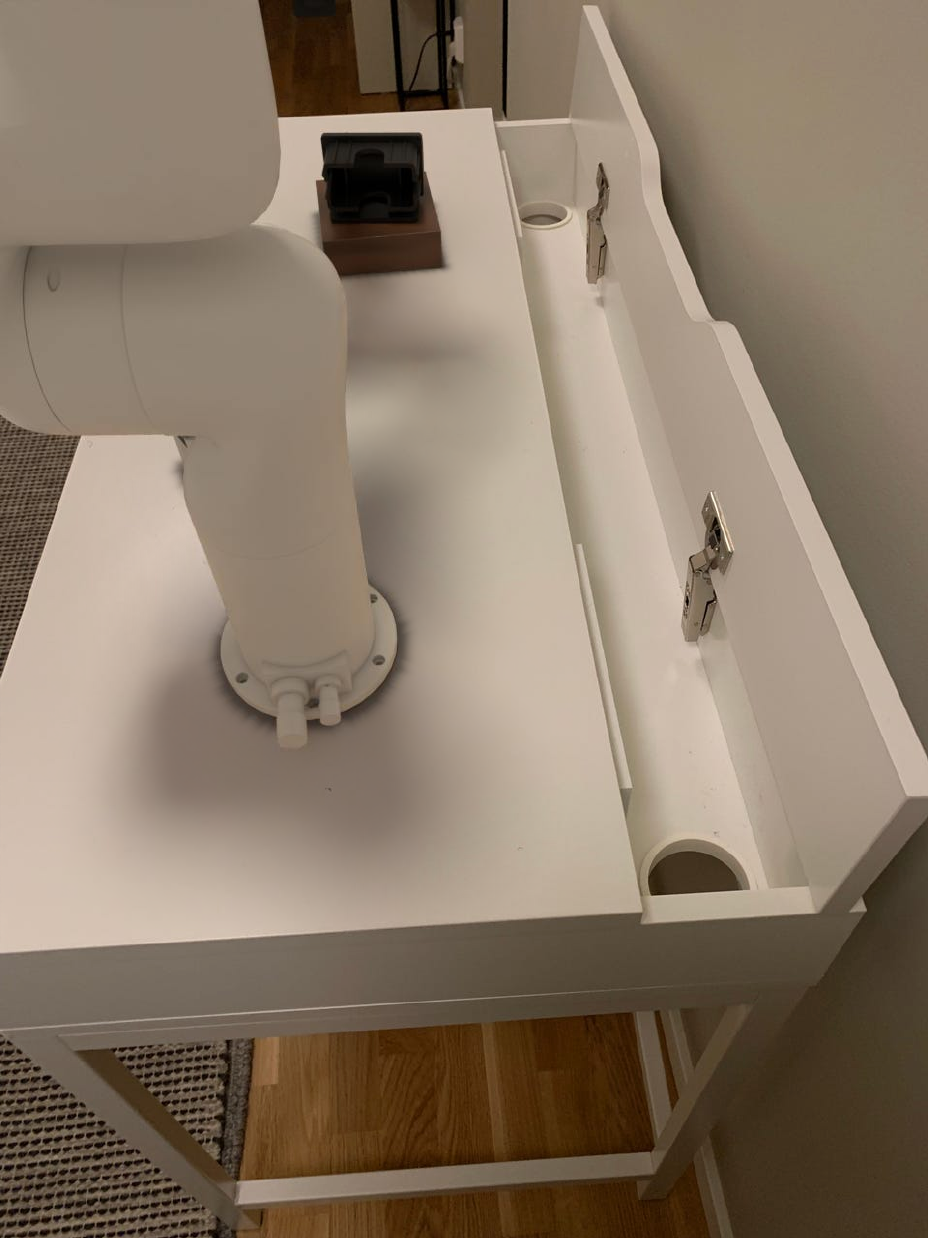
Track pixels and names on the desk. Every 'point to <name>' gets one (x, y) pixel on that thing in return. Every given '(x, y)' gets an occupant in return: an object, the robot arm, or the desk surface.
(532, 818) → the desk surface
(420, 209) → the riser
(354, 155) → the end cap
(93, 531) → the desk surface
